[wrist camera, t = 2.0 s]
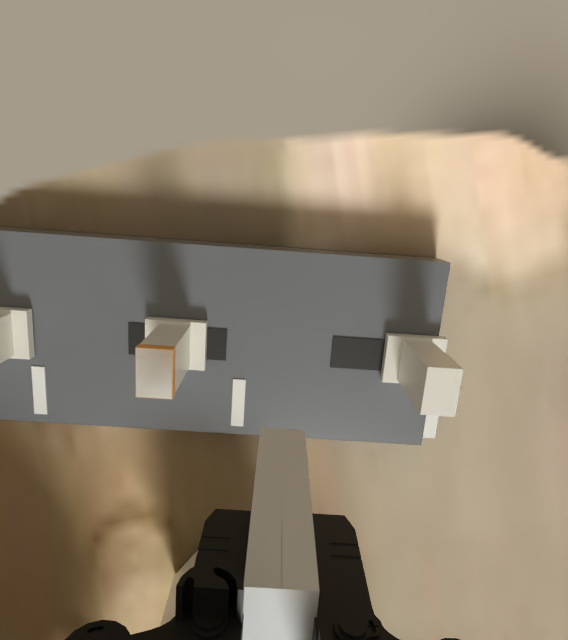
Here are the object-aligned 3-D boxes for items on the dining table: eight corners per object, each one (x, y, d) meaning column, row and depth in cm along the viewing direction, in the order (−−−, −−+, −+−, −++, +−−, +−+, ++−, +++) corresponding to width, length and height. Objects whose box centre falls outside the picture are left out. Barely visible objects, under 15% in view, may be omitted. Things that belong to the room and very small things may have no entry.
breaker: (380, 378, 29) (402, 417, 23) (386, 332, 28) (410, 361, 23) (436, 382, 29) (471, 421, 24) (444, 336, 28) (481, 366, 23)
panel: (-49, 398, 32) (-77, 415, 29) (-69, 221, 29) (-102, 223, 26) (421, 427, 32) (433, 446, 30) (448, 259, 30) (464, 264, 27)
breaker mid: (147, 363, 28) (118, 399, 23) (147, 316, 28) (117, 342, 22) (206, 367, 28) (189, 403, 23) (207, 320, 28) (190, 347, 22)
